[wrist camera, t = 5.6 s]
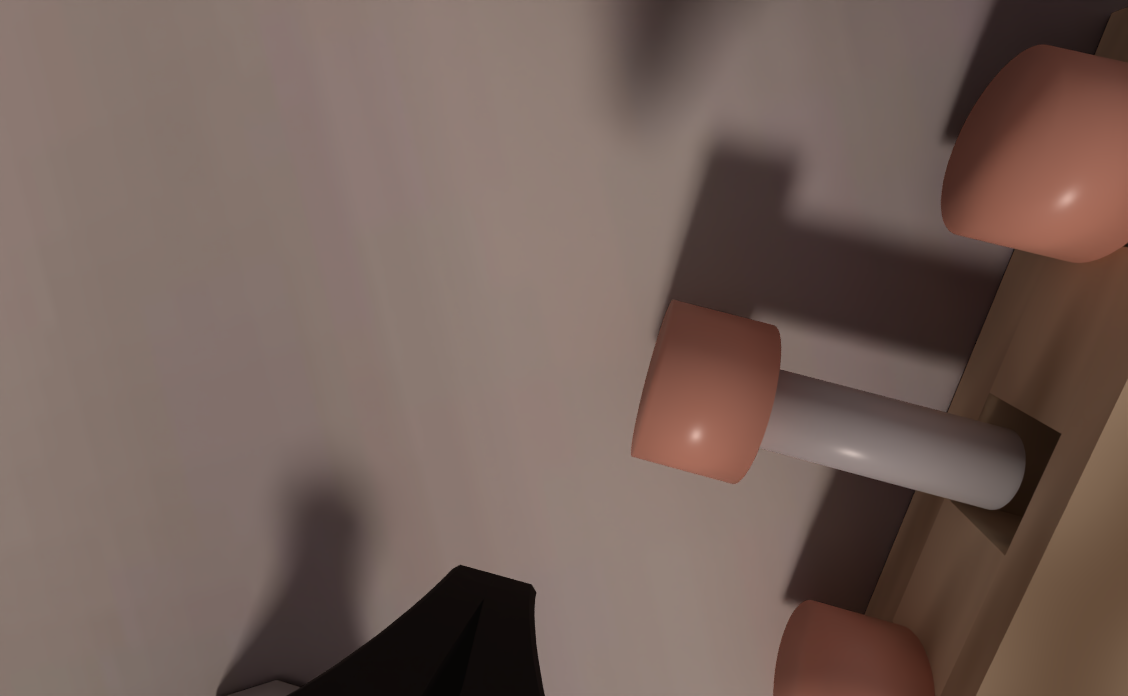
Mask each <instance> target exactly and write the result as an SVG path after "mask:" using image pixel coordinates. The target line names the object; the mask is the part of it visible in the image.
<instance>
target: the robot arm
mask: <svg viewBox="0 0 1128 696" xmlns="http://www.w3.org/2000/svg"><path fill="white" fill-rule="evenodd" d="M535 597H536V591H535V589H534V588H533V586H532V584H528V583H524V582H521V581H517V580H514V579H510V578H506V577H503V576H499V575H495V574H492V573H488V572H485V571H481V570H477V569H474V568H470V567H466V566H463V565H459V566H457V567H455V568H453V569H452V570H451V571H450V572H449V573H448V574H447V575H446V576H445V577H444V578H443V579H442V580H441V581H440V582H439V583H438V584H437V585H436V586H435V587H434V588H433V589H432V590H431V591H429V592H428V593H427V594H426V595H425V596H424V597H423V598H422V599H421V600H419V601H418V602H417V603H416V604H415V605H414V606H413V607H411V608H410V609H409V610H408V611H407V612H405V613H404V614H403V615H402V616H400V617H399V618H398V619H397V620H395V621H394V622H393V623H392V624H391V625H389V626H388V627H387V628H386V629H384V630H383V631H382V632H381V633H379V634H378V635H377V636H375V637H374V638H373V639H371V640H370V641H369V642H367V643H366V644H364V645H363V646H362V647H360V648H359V649H357V650H356V651H355V652H353V653H352V654H350V655H349V656H348V657H346V658H345V659H343V660H342V661H341V662H339V663H338V664H336V665H335V666H333V667H332V668H330V669H329V670H327V671H326V672H324V673H323V674H321V675H320V676H318V677H317V678H315V679H313V680H312V681H310V682H309V683H307V684H305V685H304V686H302V687H300V688H299V689H297V690H295V691H294V692H292V693H290V694H289V695H287V696H545V694H544V690H543V684H542V678H541V672H540V666H539V660H538V653H537V645H536V634H535V617H534V608H535Z"/></svg>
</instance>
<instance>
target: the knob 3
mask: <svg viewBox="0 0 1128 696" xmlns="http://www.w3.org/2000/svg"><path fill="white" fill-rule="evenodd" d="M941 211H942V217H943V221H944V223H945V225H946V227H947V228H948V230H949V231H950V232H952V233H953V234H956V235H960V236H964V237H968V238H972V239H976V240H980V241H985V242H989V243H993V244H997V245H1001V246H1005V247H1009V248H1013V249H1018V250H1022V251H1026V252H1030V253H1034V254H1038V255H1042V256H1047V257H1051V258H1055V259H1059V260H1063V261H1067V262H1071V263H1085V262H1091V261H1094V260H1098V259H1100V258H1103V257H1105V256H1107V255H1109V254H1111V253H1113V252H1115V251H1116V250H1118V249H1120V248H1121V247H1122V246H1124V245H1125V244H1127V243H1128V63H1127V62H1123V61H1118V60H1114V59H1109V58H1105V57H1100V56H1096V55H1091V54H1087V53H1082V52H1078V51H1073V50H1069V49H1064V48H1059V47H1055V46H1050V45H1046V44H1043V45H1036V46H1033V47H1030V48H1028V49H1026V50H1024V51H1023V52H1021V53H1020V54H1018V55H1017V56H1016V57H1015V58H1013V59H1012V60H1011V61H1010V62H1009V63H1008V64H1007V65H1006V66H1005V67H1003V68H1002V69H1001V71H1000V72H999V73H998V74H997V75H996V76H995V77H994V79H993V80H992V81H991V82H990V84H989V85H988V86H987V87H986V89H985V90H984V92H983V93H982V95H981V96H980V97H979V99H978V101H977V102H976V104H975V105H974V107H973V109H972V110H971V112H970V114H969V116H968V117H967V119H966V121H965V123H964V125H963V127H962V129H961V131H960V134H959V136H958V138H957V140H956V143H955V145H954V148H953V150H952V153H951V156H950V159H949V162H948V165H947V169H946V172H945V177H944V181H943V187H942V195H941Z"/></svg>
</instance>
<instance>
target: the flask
mask: <svg viewBox="0 0 1128 696" xmlns="http://www.w3.org/2000/svg"><path fill="white" fill-rule="evenodd" d="M299 688H300V687H298V686H294V685H291V684H288V683H285V682H281V681H278V680H275V681H272V682H268V683H265V684H262V685H259V686H256V687H252V688H249V689H246V690H243V691H240V692H236V693H233V694H230V695H227V696H287V695H289V694H290V693H292V692H294V691H295V690H297V689H299Z"/></svg>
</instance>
